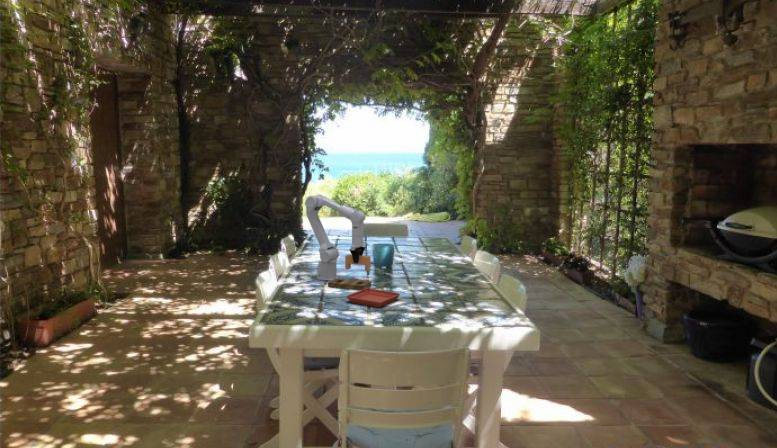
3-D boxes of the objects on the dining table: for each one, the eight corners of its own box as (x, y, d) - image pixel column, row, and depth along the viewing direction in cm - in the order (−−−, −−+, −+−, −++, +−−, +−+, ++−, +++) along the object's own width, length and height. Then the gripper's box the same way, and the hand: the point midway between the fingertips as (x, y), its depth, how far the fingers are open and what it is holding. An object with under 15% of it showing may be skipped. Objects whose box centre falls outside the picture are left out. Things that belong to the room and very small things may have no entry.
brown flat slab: (327, 287, 268) (327, 282, 268) (335, 283, 276) (335, 278, 276) (364, 291, 262) (364, 285, 262) (371, 286, 271) (371, 281, 270)
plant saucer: (367, 294, 258) (367, 287, 257) (401, 300, 249) (401, 293, 248) (345, 303, 242) (345, 296, 242) (380, 310, 233) (380, 302, 233)
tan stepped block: (345, 269, 278) (345, 255, 277) (348, 267, 282) (348, 254, 281) (367, 271, 274) (367, 257, 274) (370, 269, 278) (370, 255, 277)
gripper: (360, 238, 268) (359, 265, 270) (370, 233, 282) (369, 259, 283) (346, 237, 270) (346, 264, 272) (357, 232, 284) (356, 258, 285)
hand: (357, 262), depth 278 cm, fingers closed on tan stepped block, 4 cm apart
